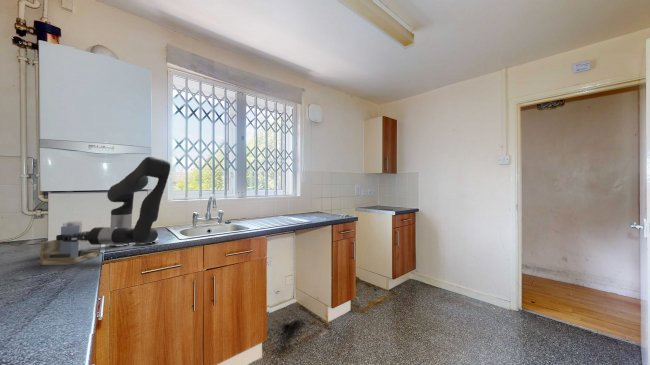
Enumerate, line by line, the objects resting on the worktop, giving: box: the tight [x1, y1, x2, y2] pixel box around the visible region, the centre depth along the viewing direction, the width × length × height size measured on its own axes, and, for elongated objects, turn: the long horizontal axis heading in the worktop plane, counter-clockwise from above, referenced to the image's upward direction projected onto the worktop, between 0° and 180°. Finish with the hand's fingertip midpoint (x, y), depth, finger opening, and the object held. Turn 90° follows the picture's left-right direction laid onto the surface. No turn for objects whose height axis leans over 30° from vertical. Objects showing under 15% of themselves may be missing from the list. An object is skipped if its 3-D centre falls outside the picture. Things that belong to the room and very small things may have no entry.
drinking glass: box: [62, 220, 83, 250], centre depth 124 cm, size 7×7×15 cm
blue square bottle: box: [60, 221, 80, 258], centre depth 110 cm, size 4×4×16 cm
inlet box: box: [39, 239, 100, 266], centre depth 110 cm, size 14×12×9 cm
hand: (63, 236), depth 110 cm, fingers open, 5 cm apart
